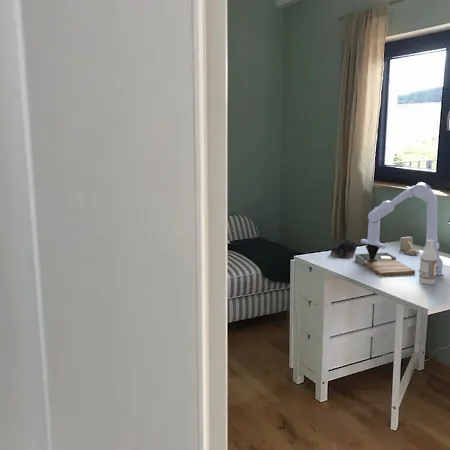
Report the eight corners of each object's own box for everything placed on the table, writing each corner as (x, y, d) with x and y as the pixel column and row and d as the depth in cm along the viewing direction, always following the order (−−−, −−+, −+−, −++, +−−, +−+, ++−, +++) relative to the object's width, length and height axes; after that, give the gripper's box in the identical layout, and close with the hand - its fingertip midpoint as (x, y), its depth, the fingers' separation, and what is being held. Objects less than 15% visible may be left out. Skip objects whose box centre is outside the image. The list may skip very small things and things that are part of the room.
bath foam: (432, 286, 230) (436, 242, 226) (417, 283, 234) (420, 240, 230) (436, 282, 236) (440, 239, 231) (421, 279, 240) (424, 237, 235)
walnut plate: (414, 274, 247) (415, 270, 246) (380, 276, 243) (380, 272, 243) (396, 263, 264) (396, 260, 264) (363, 265, 261) (363, 262, 260)
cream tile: (391, 263, 264) (391, 258, 263) (381, 263, 264) (381, 258, 264) (389, 260, 268) (390, 256, 268) (379, 260, 269) (380, 255, 269)
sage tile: (378, 259, 262) (378, 254, 263) (368, 259, 263) (368, 254, 264) (377, 261, 267) (377, 256, 268) (367, 261, 268) (367, 256, 268)
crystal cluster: (325, 255, 283) (326, 238, 280) (342, 249, 290) (343, 233, 287) (343, 262, 272) (344, 245, 269) (361, 256, 280) (362, 239, 277)
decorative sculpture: (419, 256, 279) (420, 243, 277) (401, 256, 280) (402, 243, 278) (411, 248, 295) (412, 236, 293) (394, 248, 295) (395, 236, 294)
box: (395, 263, 264) (396, 257, 263) (363, 265, 261) (363, 259, 260) (386, 258, 274) (387, 252, 273) (354, 260, 270) (355, 254, 270)
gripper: (390, 235, 255) (388, 261, 258) (367, 229, 267) (366, 255, 270) (381, 237, 251) (379, 263, 254) (358, 231, 263) (357, 257, 266)
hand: (372, 259), depth 262 cm, fingers closed
